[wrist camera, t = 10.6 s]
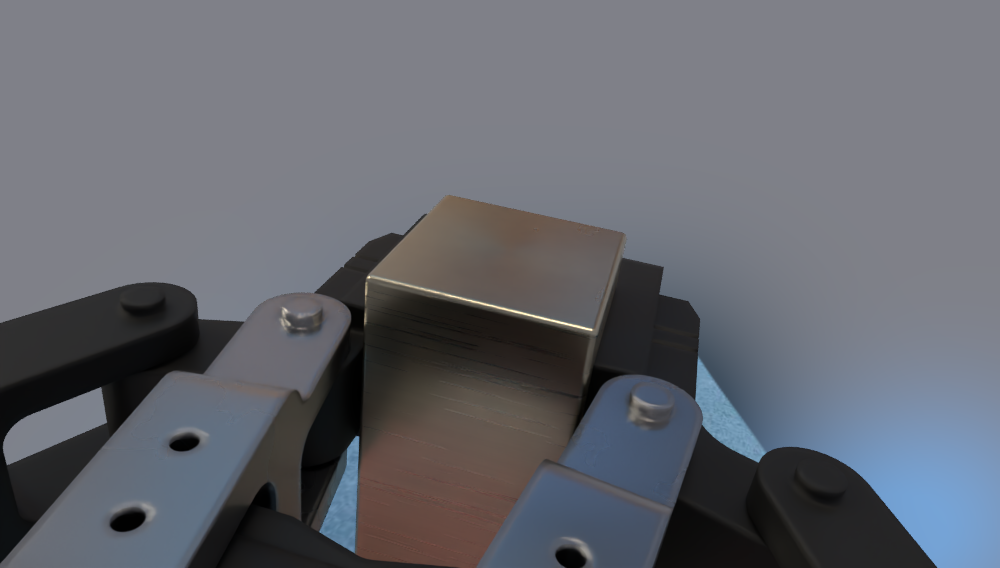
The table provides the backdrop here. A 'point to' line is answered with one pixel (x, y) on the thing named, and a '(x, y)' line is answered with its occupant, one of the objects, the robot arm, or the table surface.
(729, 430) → the table surface
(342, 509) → the table surface
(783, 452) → the robot arm
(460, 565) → the knife
